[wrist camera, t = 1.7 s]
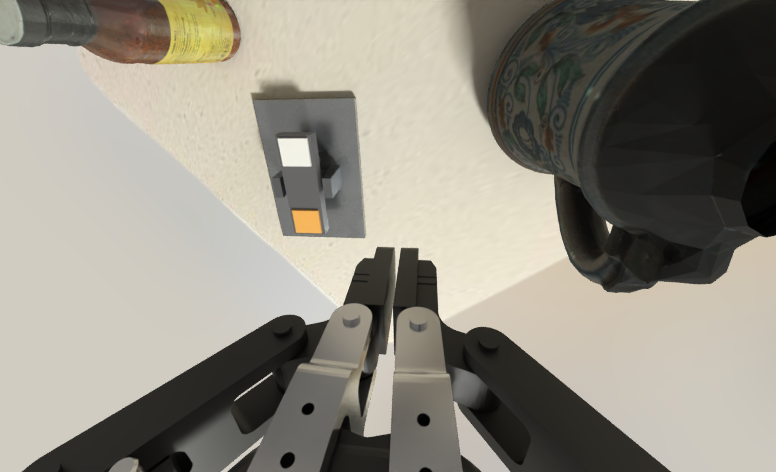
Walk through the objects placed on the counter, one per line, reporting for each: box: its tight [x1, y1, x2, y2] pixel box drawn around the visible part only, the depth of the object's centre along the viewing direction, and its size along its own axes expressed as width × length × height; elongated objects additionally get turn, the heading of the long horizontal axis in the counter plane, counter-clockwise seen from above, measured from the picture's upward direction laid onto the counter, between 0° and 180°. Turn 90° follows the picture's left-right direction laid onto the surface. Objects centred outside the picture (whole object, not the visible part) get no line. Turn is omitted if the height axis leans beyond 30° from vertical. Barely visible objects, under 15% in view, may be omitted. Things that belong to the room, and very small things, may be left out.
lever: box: [275, 132, 329, 234], centre depth 36 cm, size 12×4×2 cm, turn 2°
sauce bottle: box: [0, 0, 241, 64], centre depth 25 cm, size 6×6×20 cm
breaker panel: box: [253, 98, 366, 238], centre depth 38 cm, size 18×12×5 cm, turn 2°
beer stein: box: [487, 0, 776, 293], centre depth 22 cm, size 16×19×25 cm
